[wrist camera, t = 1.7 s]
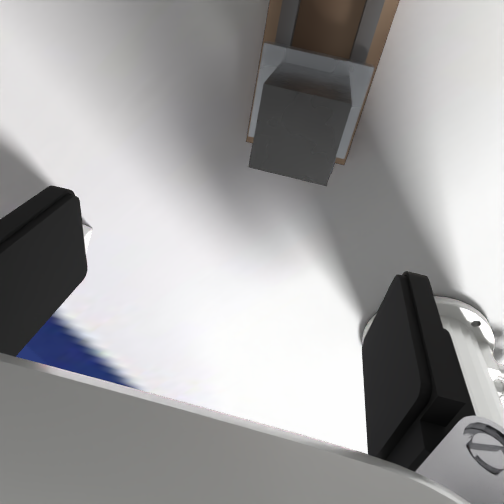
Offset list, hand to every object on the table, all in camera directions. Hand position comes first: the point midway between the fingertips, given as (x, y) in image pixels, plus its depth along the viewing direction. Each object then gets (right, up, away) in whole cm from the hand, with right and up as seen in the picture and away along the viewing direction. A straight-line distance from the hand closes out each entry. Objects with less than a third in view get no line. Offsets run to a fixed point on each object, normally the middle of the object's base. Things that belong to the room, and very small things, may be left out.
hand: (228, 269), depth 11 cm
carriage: (+5, +12, +16) cm, 21 cm away
